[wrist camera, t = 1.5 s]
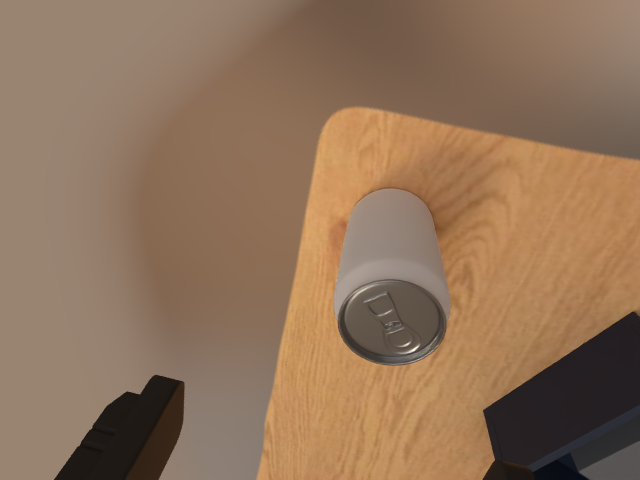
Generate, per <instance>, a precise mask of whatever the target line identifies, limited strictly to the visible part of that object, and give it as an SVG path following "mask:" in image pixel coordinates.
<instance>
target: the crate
mask: <svg viewBox="0 0 640 480" xmlns="http://www.w3.org/2000/svg"><path fill="white" fill-rule="evenodd" d="M483 412H484V416H485V419H486V424H487V428H488V433H489V437H490V441H491V445H492V449H493V453H494V458H495V460H501V461H505V462H510V463H514V464H518V465H522V466H526V467H528V468H530V469H531V471H532V472H533V474H534V477H535V480H590V479H588V478H587V477H585V476H584V475H582V474H581V473H579V472H578V470H577V467H576V465H575V462H574V460H573V458H572V455H571V453H570V452H571V451H573V450H575V449H577V448H579V447H581V446H583V445H584V444H586V443H588V442H590V441H592V440H594V439H596V438H597V437H599V436H601V435H603V434H605V433H607V432H609V431H611V430H612V429H614V428H616V427H618V426H620V425H622V424H624V423H626V422H627V421H629V420H631V419H633V418H635V417H637V416H639V415H640V316H638V315H637V314H636V313H635V312H632V313H631V314H629V315H627V316H626V317H624V318H623V319H621V320H620V321H618V322H617V323H615V324H614V325H612V326H611V327H609V328H608V329H606V330H605V331H603V332H602V333H600V334H599V335H597V336H596V337H594V338H593V339H591V340H590V341H588V342H587V343H585V344H583V345H582V346H580V347H579V348H577V349H576V350H574V351H573V352H571V353H570V354H568V355H567V356H565V357H564V358H562V359H561V360H559V361H558V362H556V363H555V364H553V365H552V366H550V367H549V368H547V369H546V370H544V371H543V372H541V373H539V374H538V375H536V376H535V377H533V378H532V379H530V380H529V381H527V382H526V383H524V384H523V385H521V386H520V387H518V388H517V389H515V390H514V391H512V392H511V393H509V394H508V395H506V396H505V397H503V398H502V399H500V400H498V401H497V402H495V403H494V404H492V405H491V406H489V407H488V408H486V409H485V410H483Z"/></svg>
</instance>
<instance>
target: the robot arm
mask: <svg viewBox="0 0 640 480" xmlns="http://www.w3.org/2000/svg"><path fill="white" fill-rule="evenodd" d="M183 414H184V382H183V381H179V380H175V379H171V378H167V377H163V376H159V375H154V376H153V377H152V378H151V379H150V380H149V382H148V383H147V385H146V386H145V388H144V389H143V391H142V393H141V394H140V395H139V394H135V393H131V392H126V393H124V394H123V395H121V396H120V397H119V398H117V399H116V400H114V401H113V402H112V403H110V404H109V405H108V406H107V407H106V408H105V409H104V411H103V412H102V414H101V415H100V416H99V418H98V419H97V421H96V422H95V423H94V425H93V427H92V429H91V430H89V432H88V433H87V434H86V436H85V437H84V439H83V440H82V442H81V444H80V446H78V447H77V448H76V450H75V451H74V453H73V454H72V455H71V457H70V458H69V460H68V461H67V462H66V464H65V465H64V467H63V468H62V469H61V471H60V472H59V474H58V475H57V477H56V478H55V479H54V480H158V479H159V477H160V476H161V473H162V471H163V469H164V467H165V465H166V463H167V461H168V459H169V457H170V455H171V453H172V451H173V449H174V447H175V445H176V443H177V440H178V438H179V435H180V432H181V428H182V424H183ZM483 480H535V477H534V474H533V472H532V471H531V469H530V468H528V467H526V466H522V465H518V464H514V463H510V462H505V461H501V460H495V461H494V462H493V463H492V465H491V467H490V468H489V470H488V471H487V473H486V475H485V476H484V478H483Z"/></svg>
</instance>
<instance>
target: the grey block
mask: <svg viewBox="0 0 640 480" xmlns="http://www.w3.org/2000/svg"><path fill="white" fill-rule="evenodd" d="M570 453H571V455H572V458H573V460H574V462H575V465H576V467H577V470H578V472H579V473H581V474H582V475H584V476H585V477H587V478H588V479H590V480H640V415H639V416H637V417H635V418H633V419H631V420H629V421H627V422H626V423H624V424H622V425H620V426H618V427H616V428H614V429H612V430H611V431H609V432H607V433H605V434H603V435H601V436H599V437H597V438H596V439H594V440H592V441H590V442H588V443H586V444H584V445H583V446H581V447H579V448H577V449H575V450H573V451H571V452H570Z"/></svg>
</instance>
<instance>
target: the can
mask: <svg viewBox="0 0 640 480" xmlns="http://www.w3.org/2000/svg"><path fill="white" fill-rule="evenodd" d="M334 311H335V315H336V318H337V321H338V328H339V332H340V335H341V337H342V339H343V341H344V342H345V343H346V345H347V346H348V347H349V348H350V349H351V350H352V351H353V352H354V353H356V354H357V355H359V356H360V357H362V358H364V359H366V360H368V361H371V362H374V363H377V364H382V365H392V366H396V365H406V364H410V363H414V362H417V361H419V360H421V359H423V358H425V357H427V356H428V355H430V354H431V353H432V352H434V351H435V350H436V349H437V347H438V346H439V345H440V343H441V342H442V340H443V338H444V335H445V332H446V323H447V321H448V318H449V314H450V296H449V290H448V285H447V280H446V275H445V271H444V266H443V261H442V257H441V252H440V248H439V243H438V239H437V235H436V230H435V226H434V222H433V218H432V215H431V213H430V211H429V209H428V207H427V206H426V204H425V203H424V202H423V201H422V200H421V199H420V198H418V197H417V196H416V195H414V194H412V193H410V192H408V191H405V190H401V189H381V190H377V191H374V192H372V193H370V194H368V195H366V196H365V197H363V198H362V199H361V200H360V201H359V202H358V203H357V204H356V205H355V206H354V208H353V210H352V212H351V214H350V216H349V220H348V224H347V229H346V234H345V239H344V244H343V249H342V254H341V259H340V265H339V270H338V275H337V281H336V287H335V293H334Z"/></svg>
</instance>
